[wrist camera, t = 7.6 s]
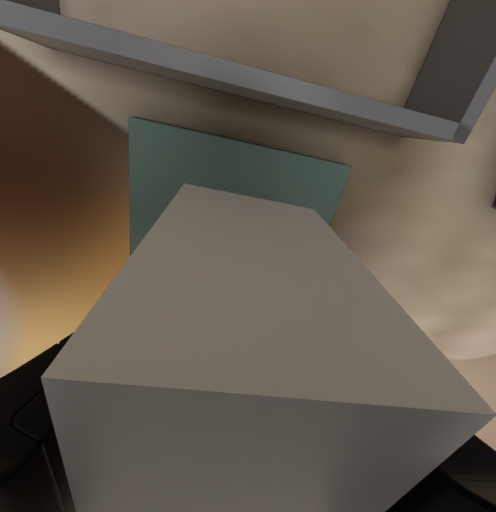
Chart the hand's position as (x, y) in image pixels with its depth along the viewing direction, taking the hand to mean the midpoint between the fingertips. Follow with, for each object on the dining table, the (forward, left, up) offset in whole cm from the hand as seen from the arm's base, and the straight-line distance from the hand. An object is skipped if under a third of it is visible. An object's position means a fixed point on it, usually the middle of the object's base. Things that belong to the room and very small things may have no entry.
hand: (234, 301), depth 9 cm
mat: (0, 0, -8) cm, 8 cm away
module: (0, 0, -2) cm, 2 cm away
